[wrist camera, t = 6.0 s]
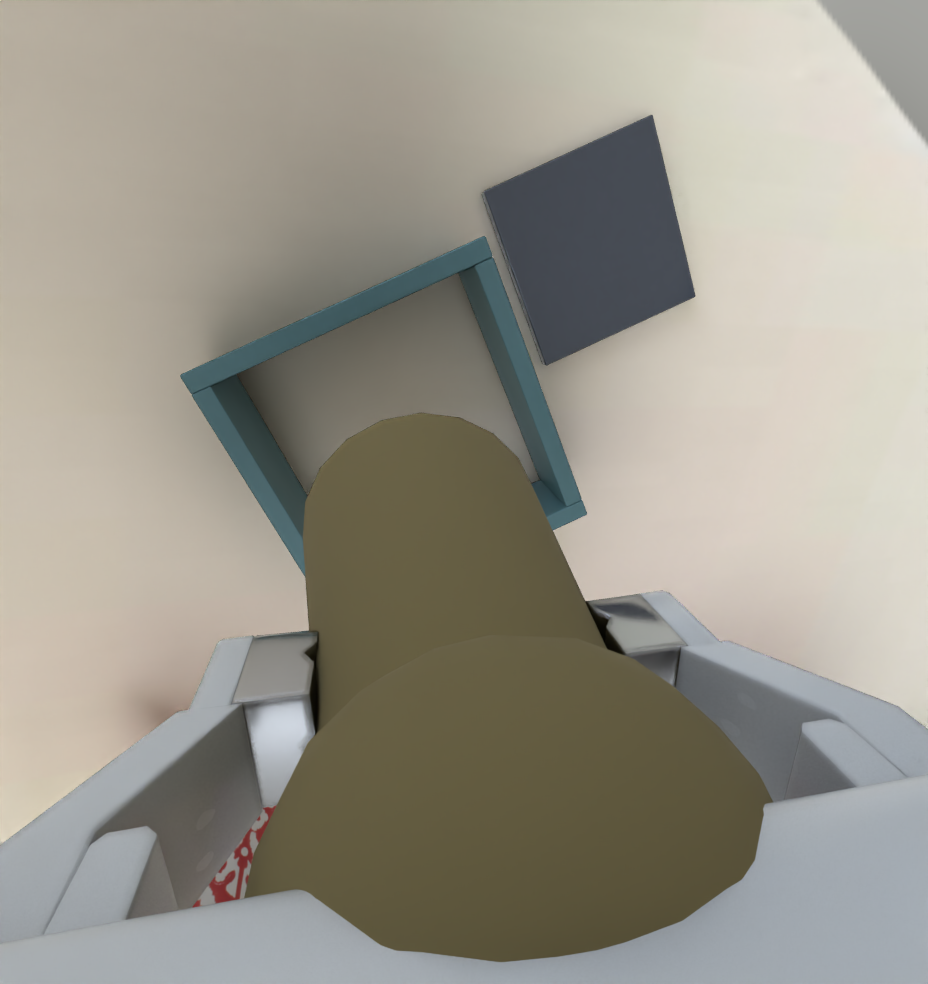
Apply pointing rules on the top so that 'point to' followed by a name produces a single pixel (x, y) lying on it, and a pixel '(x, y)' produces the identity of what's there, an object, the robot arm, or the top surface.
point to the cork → (487, 725)
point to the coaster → (592, 240)
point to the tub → (473, 262)
